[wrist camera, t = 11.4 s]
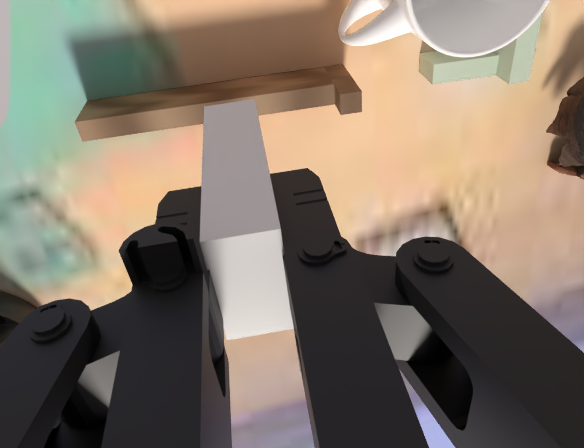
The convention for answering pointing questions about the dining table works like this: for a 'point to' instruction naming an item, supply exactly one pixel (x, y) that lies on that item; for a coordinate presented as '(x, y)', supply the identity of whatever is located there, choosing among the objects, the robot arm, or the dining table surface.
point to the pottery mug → (570, 132)
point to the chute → (218, 101)
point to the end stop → (485, 61)
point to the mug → (443, 23)
